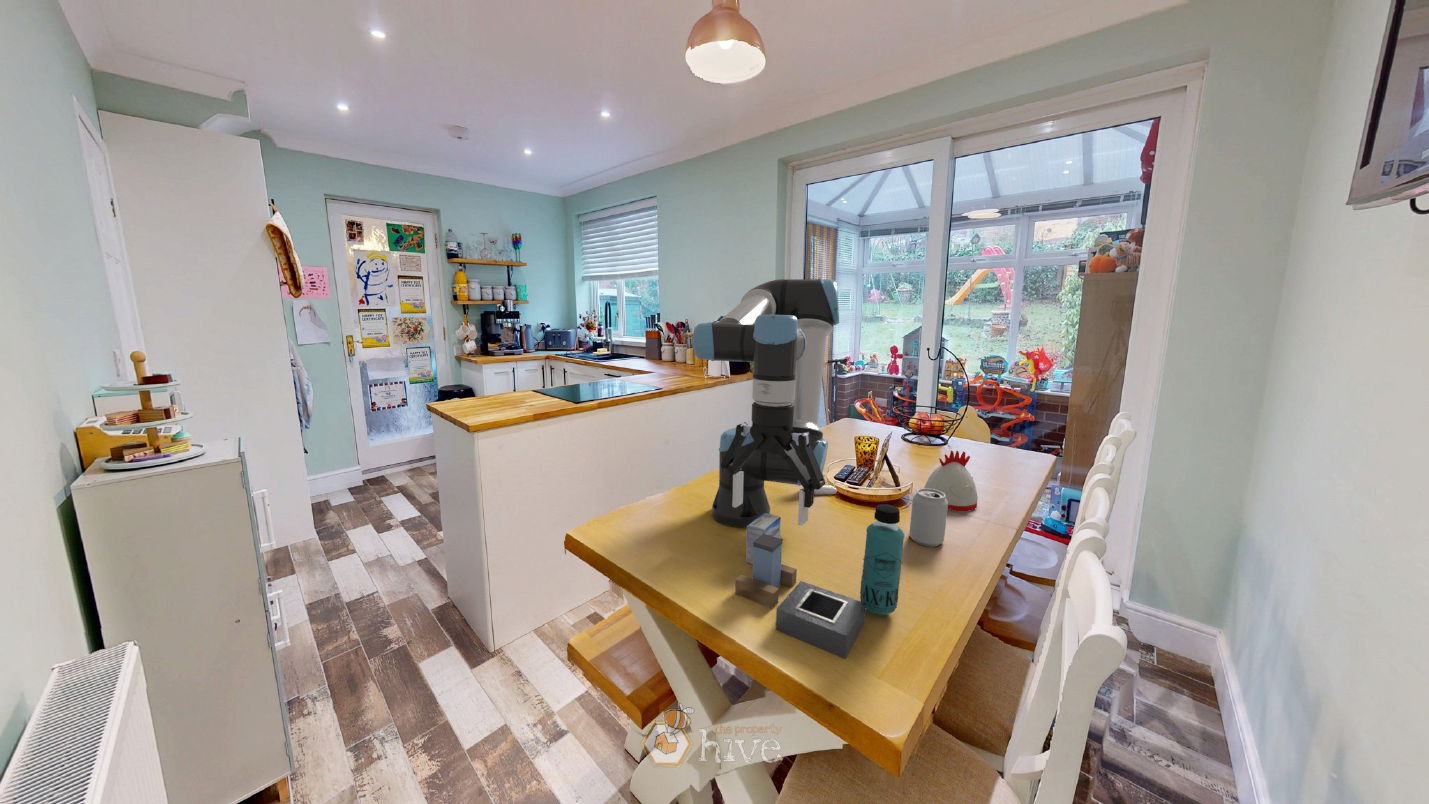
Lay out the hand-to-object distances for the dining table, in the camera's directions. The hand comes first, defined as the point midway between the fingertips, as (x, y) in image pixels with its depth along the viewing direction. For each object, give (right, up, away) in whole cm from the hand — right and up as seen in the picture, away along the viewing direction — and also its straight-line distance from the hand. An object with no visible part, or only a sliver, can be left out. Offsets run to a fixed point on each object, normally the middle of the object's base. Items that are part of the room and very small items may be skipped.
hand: (768, 513), depth 89 cm
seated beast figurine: (+20, -6, +53) cm, 57 cm away
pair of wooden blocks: (0, -15, +3) cm, 16 cm away
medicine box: (0, -13, +15) cm, 20 cm away
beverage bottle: (+19, -17, -4) cm, 26 cm away
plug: (0, -15, +3) cm, 16 cm away
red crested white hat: (+57, -8, +46) cm, 74 cm away
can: (+40, -12, +23) cm, 48 cm away
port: (+8, -17, -8) cm, 21 cm away
